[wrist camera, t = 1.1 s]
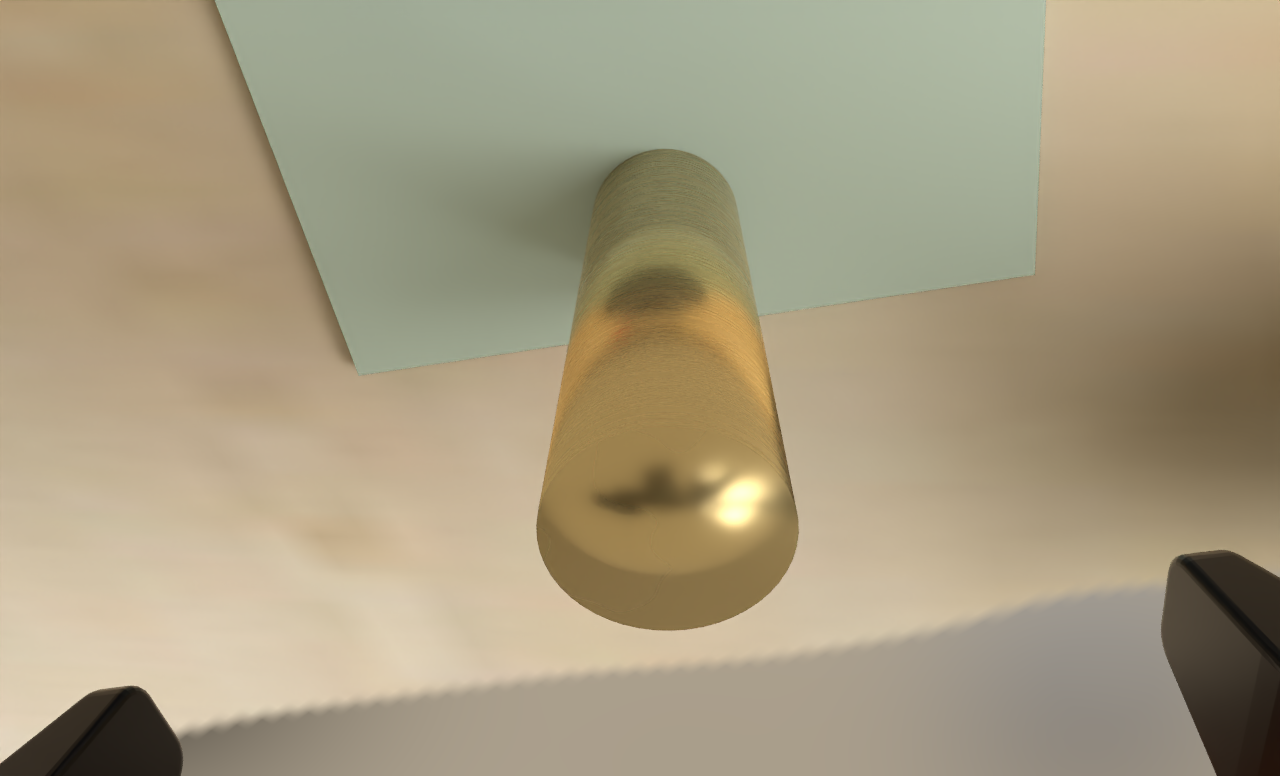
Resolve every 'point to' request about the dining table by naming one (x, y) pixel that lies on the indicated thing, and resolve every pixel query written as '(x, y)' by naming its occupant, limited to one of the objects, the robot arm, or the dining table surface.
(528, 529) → the dining table surface
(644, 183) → the pin
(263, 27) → the mat
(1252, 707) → the robot arm
